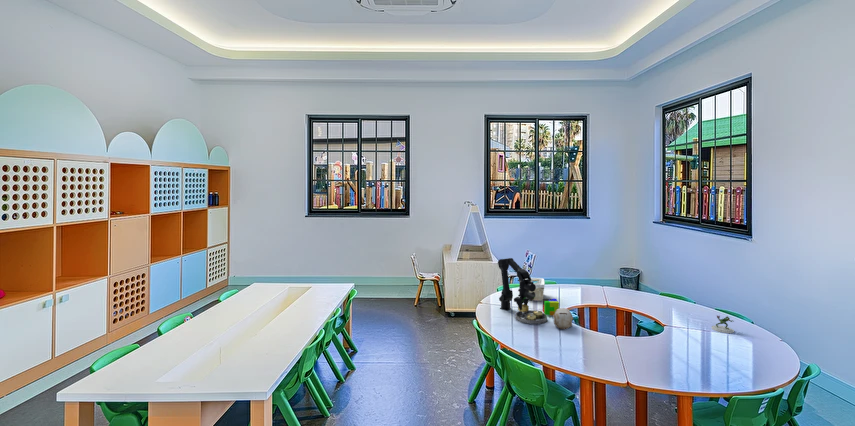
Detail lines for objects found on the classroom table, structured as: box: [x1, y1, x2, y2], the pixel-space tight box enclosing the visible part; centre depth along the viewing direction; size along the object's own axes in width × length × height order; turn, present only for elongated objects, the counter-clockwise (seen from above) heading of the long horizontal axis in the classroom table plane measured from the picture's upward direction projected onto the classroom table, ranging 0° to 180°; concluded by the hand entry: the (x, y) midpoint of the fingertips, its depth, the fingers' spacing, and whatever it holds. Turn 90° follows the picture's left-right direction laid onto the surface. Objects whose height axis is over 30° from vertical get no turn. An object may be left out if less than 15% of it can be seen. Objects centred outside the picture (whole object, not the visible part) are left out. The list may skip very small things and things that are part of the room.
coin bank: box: [552, 307, 574, 330], centre depth 268 cm, size 16×17×13 cm
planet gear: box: [517, 303, 530, 312], centre depth 286 cm, size 7×7×4 cm
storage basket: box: [529, 277, 546, 302], centre depth 335 cm, size 24×16×15 cm
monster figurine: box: [711, 314, 735, 334], centre depth 258 cm, size 12×12×10 cm
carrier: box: [514, 309, 548, 325], centre depth 283 cm, size 22×22×5 cm
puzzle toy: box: [542, 297, 560, 316], centre depth 294 cm, size 10×10×10 cm
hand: (523, 308), depth 286 cm, fingers closed on planet gear, 7 cm apart
